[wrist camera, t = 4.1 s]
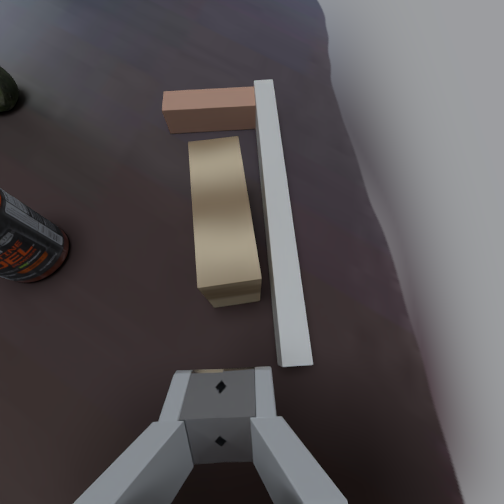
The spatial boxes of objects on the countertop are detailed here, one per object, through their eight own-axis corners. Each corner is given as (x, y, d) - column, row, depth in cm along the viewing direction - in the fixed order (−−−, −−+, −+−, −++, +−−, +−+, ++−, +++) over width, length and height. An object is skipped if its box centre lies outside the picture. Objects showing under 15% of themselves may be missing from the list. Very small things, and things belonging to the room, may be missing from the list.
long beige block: (259, 301, 22) (261, 278, 16) (214, 307, 22) (197, 288, 16) (242, 189, 27) (238, 136, 20) (204, 194, 27) (188, 142, 20)
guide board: (302, 363, 20) (313, 364, 16) (151, 373, 20) (127, 377, 16) (270, 109, 31) (272, 76, 27) (172, 115, 31) (160, 82, 27)
